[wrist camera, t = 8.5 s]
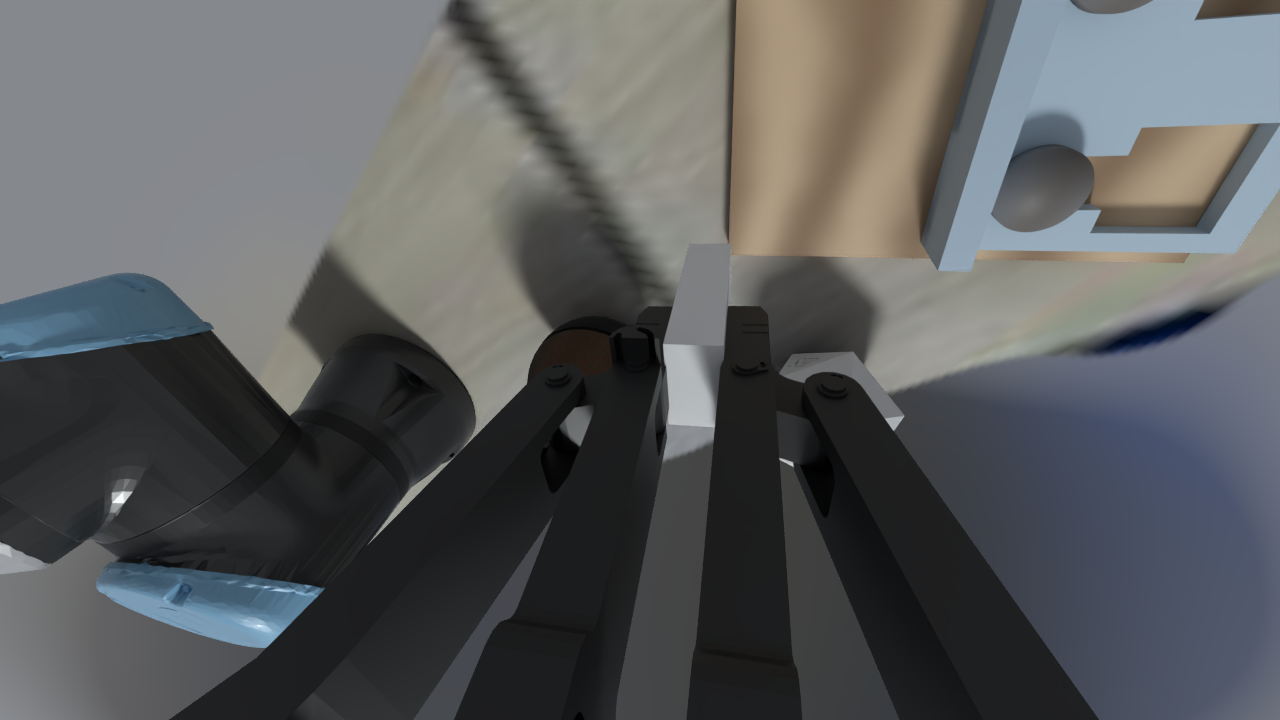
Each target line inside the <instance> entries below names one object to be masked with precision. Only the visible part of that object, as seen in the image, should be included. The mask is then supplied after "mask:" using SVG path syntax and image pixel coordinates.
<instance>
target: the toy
mask: <svg viewBox="0 0 1280 720" xmlns="http://www.w3.org/2000/svg"><path fill="white" fill-rule="evenodd" d="M622 327H626V325H624V324H622V323H621V322H618V321H616V320H613V319H610V318H606V317H598V316H591V317H582V318H578V319H574V320H571V321H569V322H567V323H565V324H563V325H561V326H560V327H558V328H557V329H555V330H554V331H553V332H552V333H551V334H550V335H548V337H547V338H546V339H545V340H544V341H543V343H542V344H541V345H540V347H539V348H538V350H537V352H536V353H535V355H534V357H533V360H532V362H531V365H530V369H529V373H528V381H527V384H528V383H529V381H530V380H531V379H532V378H533V377H534V376H535V375H536V374H537V373H539V372H540V371H541V370H543V369H544V368H547V367H549V366H552V365H555V364H562V363H564V364H573V365H575V366H578V367H579V368H580V369H581V370H582V372H583V376H587V375H593V374H598V373H602V372H606V371H608V370H610V369H611V366H612V364H613V363H612V356H611V349H610V343H609V336H610V335H611V334H612V333H613V332H614V331H616V330H618V329H619V328H622Z"/></svg>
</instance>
